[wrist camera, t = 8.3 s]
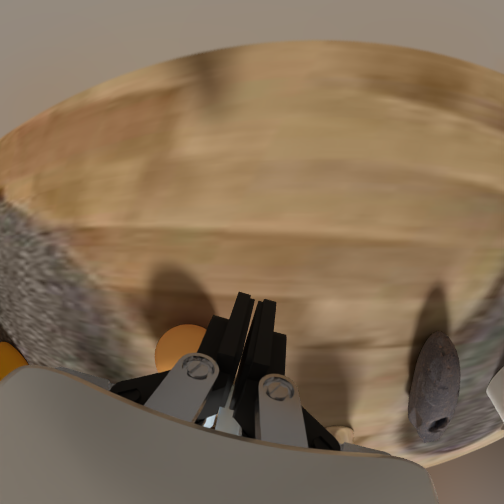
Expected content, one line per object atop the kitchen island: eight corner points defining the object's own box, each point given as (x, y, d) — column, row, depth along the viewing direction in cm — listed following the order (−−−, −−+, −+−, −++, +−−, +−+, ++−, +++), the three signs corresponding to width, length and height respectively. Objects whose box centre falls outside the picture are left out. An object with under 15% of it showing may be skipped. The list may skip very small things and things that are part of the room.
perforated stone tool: (410, 325, 24) (438, 372, 17) (453, 311, 23) (486, 351, 16) (398, 412, 29) (412, 453, 22) (433, 400, 28) (450, 438, 21)
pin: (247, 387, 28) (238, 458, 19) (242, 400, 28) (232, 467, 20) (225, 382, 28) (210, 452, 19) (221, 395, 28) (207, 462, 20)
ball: (203, 396, 25) (240, 350, 26) (187, 413, 19) (233, 356, 20) (156, 358, 26) (191, 312, 27) (130, 363, 20) (172, 307, 21)
